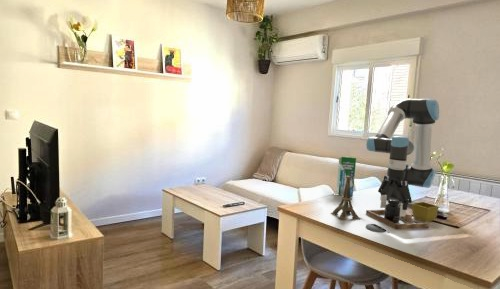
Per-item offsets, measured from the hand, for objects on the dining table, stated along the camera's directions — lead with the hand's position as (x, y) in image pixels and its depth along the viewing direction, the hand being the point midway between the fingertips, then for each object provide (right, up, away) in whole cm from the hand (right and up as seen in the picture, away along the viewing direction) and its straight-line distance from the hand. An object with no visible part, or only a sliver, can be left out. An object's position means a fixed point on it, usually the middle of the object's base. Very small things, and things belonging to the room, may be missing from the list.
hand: (392, 211), depth 158 cm
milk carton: (-7, 0, +57) cm, 57 cm away
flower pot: (+19, -7, +6) cm, 21 cm away
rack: (+2, -6, +1) cm, 7 cm away
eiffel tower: (-21, -4, +8) cm, 23 cm away
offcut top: (+8, -3, +3) cm, 9 cm away
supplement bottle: (0, -6, +1) cm, 6 cm away
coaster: (-11, -6, -8) cm, 14 cm away
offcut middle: (+8, -5, +3) cm, 9 cm away
